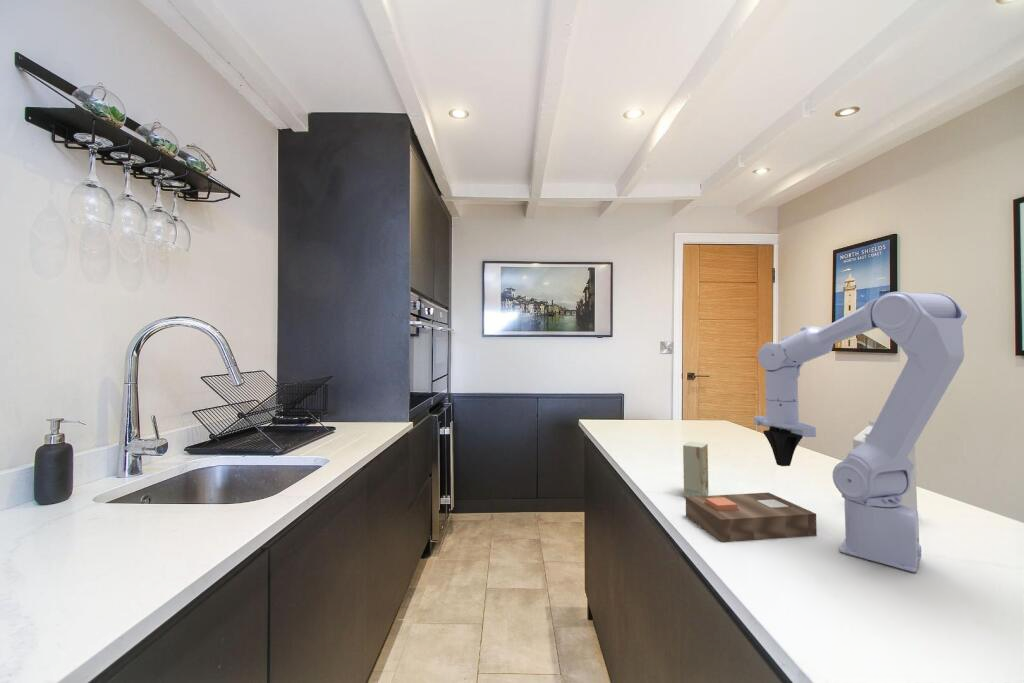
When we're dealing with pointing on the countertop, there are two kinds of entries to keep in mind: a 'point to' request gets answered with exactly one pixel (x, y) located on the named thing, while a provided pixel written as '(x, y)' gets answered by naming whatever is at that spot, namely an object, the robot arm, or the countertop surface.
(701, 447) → the skincare box
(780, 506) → the grey button
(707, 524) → the button block
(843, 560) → the countertop surface
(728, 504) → the terracotta button
